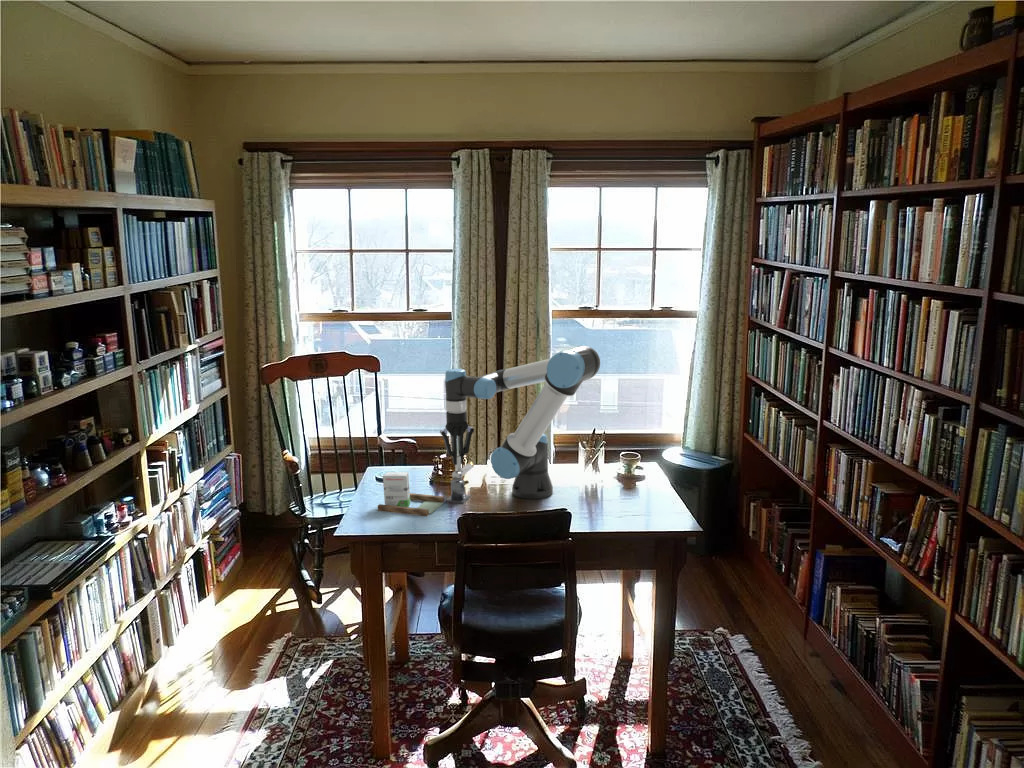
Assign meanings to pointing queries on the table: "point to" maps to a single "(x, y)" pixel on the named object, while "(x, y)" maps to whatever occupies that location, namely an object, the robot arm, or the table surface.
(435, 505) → the front pad
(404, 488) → the ink box
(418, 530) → the table surface
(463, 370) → the robot arm
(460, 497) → the winch drum
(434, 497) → the rails
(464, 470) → the crank
